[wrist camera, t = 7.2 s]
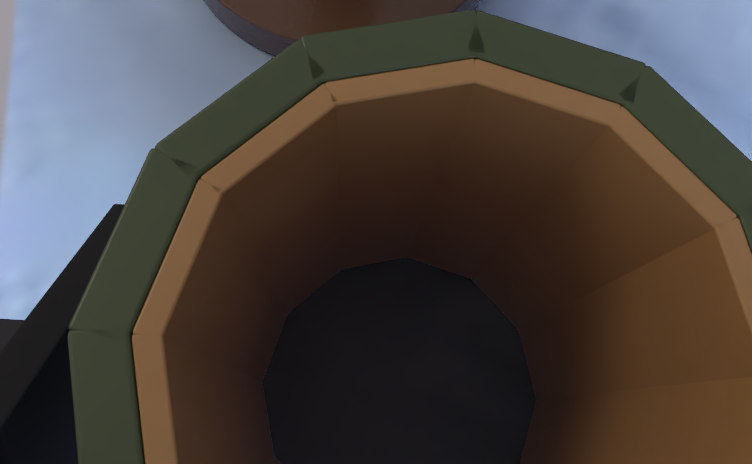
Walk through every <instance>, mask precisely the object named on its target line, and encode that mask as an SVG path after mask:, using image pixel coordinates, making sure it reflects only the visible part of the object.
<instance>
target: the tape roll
mask: <svg viewBox="0 0 752 464" xmlns="http://www.w3.org/2000/svg"><path fill="white" fill-rule="evenodd" d="M406 257H407V258H410V259H413V260H416V261H419V262H422V263H425V264H428V265H431V266H434V267H437V268H440V269H443V270H446V271H449V272H452V273H455V274H458V275H461V276H464V277H467V278H470V279H472V281H473V282H474V283H475V284H476V285H477V286H478V287H479V288H480V289H481V290H482V291H483V292H484V294H485V295H486V296H487V297H488V298H489V299H490V300H491V301H492V302H493V303H494V304H495V305H496V306H497V308H498V309H499V310H500V311H501V312H502V313H503V314H504V315H505V316H506V317H507V318H508V319H509V320H510V322H511V323H512V324H513V325H514V326H515V327H516V328H517V329H518V331H519V335H520V339H521V343H522V347H523V350H524V354H525V358H526V362H527V366H528V370H529V374H530V378H531V381H532V385H533V389H534V393H535V397H536V402H535V405H534V409H533V413H532V417H531V421H530V425H529V429H528V433H527V437H526V440H525V444H524V448H523V452H522V456H521V460H520V464H752V161H751V160H749V159H748V158H747V157H746V156H745V155H744V154H743V153H742V152H741V151H740V150H739V149H738V148H737V147H736V146H734V145H733V144H732V143H731V142H730V141H729V140H728V139H727V138H726V137H725V136H724V135H723V134H722V133H721V132H720V131H718V130H717V129H716V128H715V127H714V126H713V125H712V124H711V123H710V122H709V121H708V120H707V119H706V118H705V117H704V116H702V115H701V114H700V113H699V112H698V111H697V110H696V109H695V108H694V107H693V106H692V105H691V104H690V103H689V102H687V101H686V100H685V99H684V98H683V97H682V96H681V95H680V94H679V93H678V92H677V91H676V90H675V89H674V88H673V87H671V86H670V85H669V84H668V83H667V82H666V81H665V80H664V79H663V78H662V77H661V76H660V75H659V74H658V73H657V72H655V71H654V70H653V69H652V68H651V67H650V66H646V65H645V63H643V62H640V61H637V60H634V59H630V58H627V57H624V56H621V55H618V54H615V53H612V52H608V51H605V50H602V49H599V48H596V47H593V46H589V45H586V44H583V43H580V42H577V41H574V40H570V39H567V38H564V37H561V36H558V35H555V34H551V33H548V32H545V31H542V30H539V29H536V28H533V27H529V26H526V25H523V24H520V23H517V22H514V21H510V20H507V19H504V18H501V17H498V16H495V15H491V14H488V13H485V12H482V11H477V12H476V11H475V10H467V11H461V12H454V13H448V14H441V15H435V16H428V17H422V18H416V19H409V20H403V21H396V22H390V23H383V24H377V25H370V26H364V27H357V28H351V29H344V30H338V31H331V32H325V33H318V34H312V35H305V36H302V37H301V40H298V41H296V42H294V43H293V44H292V45H290V46H289V47H287V48H286V49H285V50H283V51H282V52H281V53H279V54H278V55H277V56H275V57H274V58H273V59H271V60H270V61H268V62H267V63H266V64H264V65H263V66H262V67H260V68H259V69H258V70H256V71H255V72H254V73H252V74H251V75H249V76H248V77H247V78H245V79H244V80H243V81H241V82H240V83H239V84H237V85H236V86H235V87H233V88H232V89H230V90H229V91H228V92H226V93H225V94H224V95H222V96H221V97H220V98H218V99H217V100H216V101H214V102H213V103H211V104H210V105H209V106H207V107H206V108H205V109H203V110H202V111H201V112H199V113H198V114H197V115H195V116H194V117H192V118H191V119H190V120H188V121H187V122H186V123H184V124H183V125H182V126H180V127H179V128H178V129H176V130H175V131H173V132H172V133H171V134H169V135H168V136H167V137H165V138H164V139H163V140H161V141H160V142H159V143H157V145H156V146H155V149H151V150H150V152H149V154H148V156H147V158H146V160H145V162H144V164H143V167H142V169H141V171H140V173H139V175H138V177H137V180H136V182H135V184H134V186H133V188H132V190H131V192H130V195H129V197H128V199H127V201H126V203H125V205H124V208H123V210H122V212H121V214H120V216H119V218H118V221H117V223H116V225H115V227H114V229H113V231H112V233H111V236H110V238H109V240H108V242H107V244H106V246H105V249H104V251H103V253H102V255H101V257H100V259H99V261H98V264H97V266H96V268H95V270H94V272H93V274H92V277H91V279H90V281H89V283H88V285H87V287H86V290H85V292H84V294H83V296H82V298H81V300H80V302H79V305H78V307H77V309H76V311H75V313H74V315H73V318H72V320H71V322H70V324H69V330H71V331H69V332H68V348H69V360H70V372H71V383H72V395H73V407H74V419H75V431H76V443H77V455H78V464H281V463H280V462H279V461H278V460H277V458H276V457H275V456H274V451H273V444H272V438H271V432H270V425H269V419H268V412H267V406H266V400H265V393H264V387H263V380H264V377H265V374H266V372H267V369H268V366H269V364H270V361H271V358H272V356H273V353H274V350H275V347H276V345H277V342H278V339H279V337H280V334H281V331H282V329H283V326H284V323H285V321H286V318H287V315H288V314H289V313H290V312H291V311H292V310H294V309H295V308H296V307H297V306H298V305H300V304H301V303H302V302H303V301H304V300H305V299H307V298H308V297H309V296H310V295H311V294H313V293H314V292H315V291H316V290H317V289H318V288H320V287H321V286H322V285H323V284H324V283H326V282H327V281H328V280H329V279H330V278H331V277H333V276H334V275H335V274H336V273H337V272H339V271H340V270H342V269H348V268H353V267H358V266H364V265H369V264H374V263H379V262H385V261H390V260H395V259H401V258H406Z"/></svg>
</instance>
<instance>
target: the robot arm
mask: <svg viewBox="0 0 752 464" xmlns="http://www.w3.org/2000/svg"><path fill="white" fill-rule="evenodd" d="M123 208H124V205H122V204H114V205H113V206H112V208H111V209H110V210H109V212H108V213H107V214H106V216H105V217H104V218H103V219H102V221H101V222H100V223H99V225H98V226H97V227H96V229H95V230H94V231H93V232H92V234H91V235H90V236H89V238H88V239H87V240H86V242H85V243H84V244H83V245H82V247H81V248H80V249H79V251H78V252H77V253H76V255H75V256H74V257H73V258H72V260H71V261H70V262H69V264H68V265H67V266H66V268H65V269H64V270H63V271H62V273H61V274H60V275H59V277H58V278H57V279H56V280H55V282H54V283H53V284H52V286H51V287H50V288H49V290H48V291H47V292H46V293H45V295H44V296H43V297H42V299H41V300H40V301H39V303H38V304H37V305H36V306H35V308H34V309H33V310H32V312H31V313H30V314H29V316H28V317H27V318H26V319H25V320H11V319H0V464H78V455H77V443H76V431H75V419H74V407H73V395H72V383H71V372H70V360H69V348H68V332H69V331H71V330H69V324H70V322H71V320H72V318H73V315H74V313H75V311H76V309H77V307H78V305H79V302H80V300H81V298H82V296H83V294H84V292H85V290H86V287H87V285H88V283H89V281H90V279H91V277H92V274H93V272H94V270H95V268H96V266H97V264H98V261H99V259H100V257H101V255H102V253H103V251H104V249H105V246H106V244H107V242H108V240H109V238H110V236H111V233H112V231H113V229H114V227H115V225H116V223H117V221H118V218H119V216H120V214H121V212H122V210H123Z"/></svg>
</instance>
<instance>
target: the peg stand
mask: <svg viewBox="0 0 752 464" xmlns="http://www.w3.org/2000/svg"><path fill="white" fill-rule="evenodd" d="M203 1H204V2H205V3H206V5H207V6H208V7H209V8H210V10H211V11H212V12H213V13H214V15H215V16H216V17H217V18H218V19H219V20H220V21H221V22H223V23H224V24H225V25H226V26H227V27H228V28H229V29H230V30H231V31H233V32H234V33H235V34H237V35H238V36H240V37H241V38H242V39H244V40H245V41H246V42H248V43H250V44H252V45H254V46H255V47H257V48H259V49H261V50H263V51H265V52H266V53H269V54H272V55H274V56H277V55H278V54H279V53H281V52H282V51H283V50H285V49H286V48H287V47H289V46H290V45H292V44H293V43H294V42H296V41H298V40H301V37H302V36H305V35H312V34H318V33H325V32H331V31H338V30H344V29H351V28H357V27H364V26H370V25H377V24H383V23H390V22H396V21H403V20H409V19H416V18H422V17H428V16H435V15H441V14H448V13H454V12H461V11H467V10H474V9H475V7H476V6H477V4H478V3H479V1H480V0H203Z"/></svg>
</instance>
